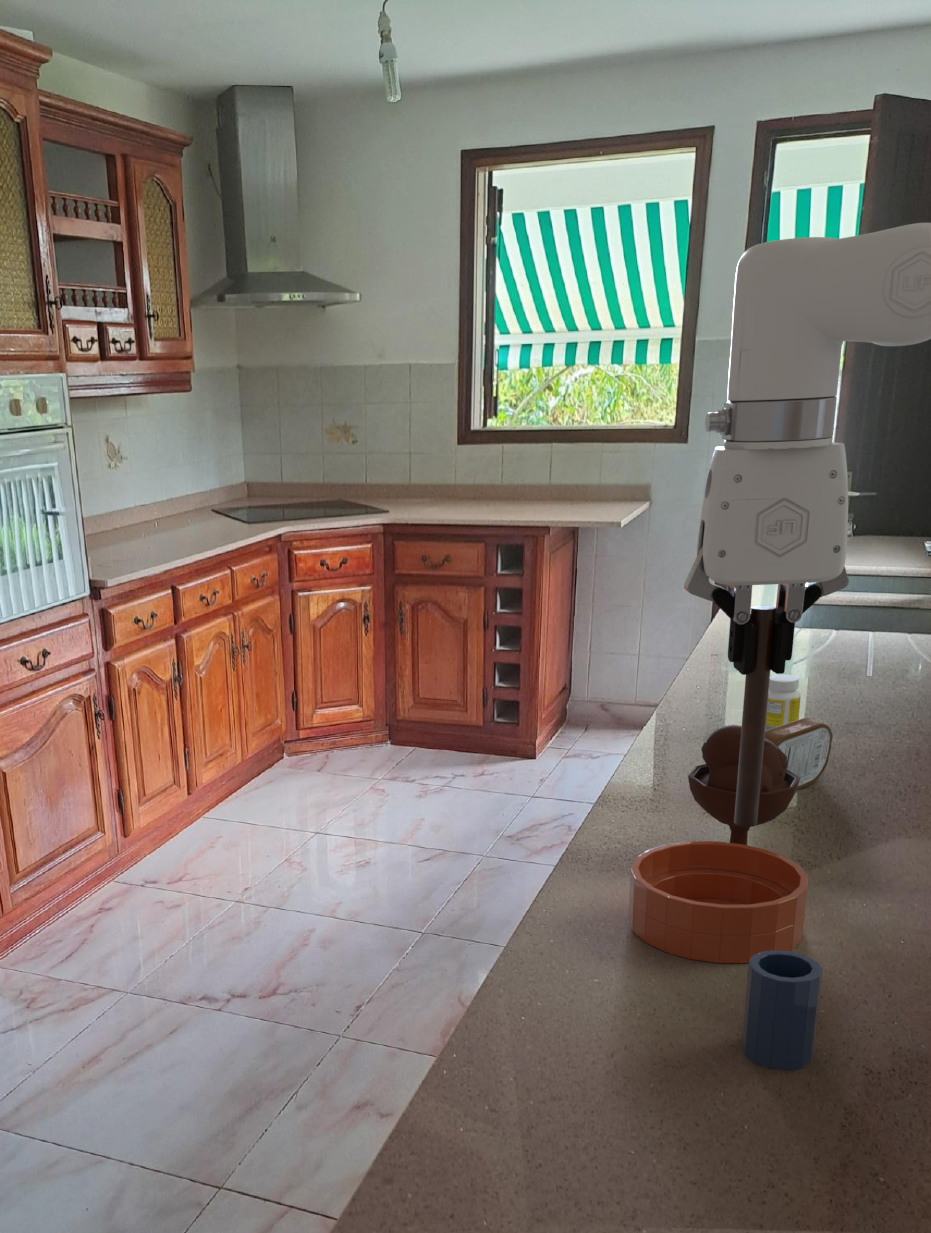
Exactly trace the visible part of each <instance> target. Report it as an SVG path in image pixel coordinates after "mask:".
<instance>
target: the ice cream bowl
mask: <svg viewBox="0 0 931 1233" xmlns="http://www.w3.org/2000/svg"><path fill="white" fill-rule="evenodd" d="M741 729H742V725H738V724H729V725H722V726H720V727H719V728H717V729H715V730H714V731H711V733H709V734H708V736H707V738H706V739H705V741H704V743H703V744H702V746H701V748H700V750H701V754H702V756H701V757H702V760H703V761H704V764H700V765H696V766H694V767H693V769H692V770H691V772H690V773H689V774H688V775H687V778H688V786H689V791H690V792H691V795H692V797H693V799H694V801H695V802H696V803H697V804H698V805H699V806H700V807H701V809H703V810H704V811H705V812H706V813H707V814H709V815H710V816H711V817H712V818H714V819H715V820H716V821H718V822H719V823H721V824H723V825H727V826H728V827H729V830H730V837H729V843H736V844H743V845H747V846H749V845H748V837H749V836H748V833H749V830H750V829H751V827H741V826H738V825H736V824H735V823H734V816H735V804H736V791H737V779H738V766H739V754H740V741H741ZM800 778H801V777H799V776H797V775H796V774H794V773H792V772H791V771H789V770H788V769H787V756H786V755H785V754H784V753H783V752H782V751H781V750H780V749H779V748H778V747H777V746H776V745H775V744H774V743H773V742H771V741H769V740H767V739H765V738H764V750H763V761H762V773H761V784H760V795H759V807H758V818H757V825H756V826H761V825H764V824H767V823H768V822H770V821H773V820H775V819H776V818H778V817H779V816H780V815H782V814H783V813H784V812H785V811H786V810H787V809H788V807H789V805H790V804H791V802H792V800H793V798H794V797H795V795H796V793H797V791H798V790H797V787H798V784H799V781H800ZM756 826H755V827H756Z"/></svg>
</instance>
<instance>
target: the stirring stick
mask: <svg viewBox="0 0 931 1233" xmlns="http://www.w3.org/2000/svg"><path fill="white" fill-rule="evenodd" d="M775 613H776V606H771V605H753V606H751V613H750V614H751V615H752V623H753V624H754V625H756V638H755V650H754V662H753V672H752V673H750V674H749V675H745V681H744V693H743V706H742V718H741V726H742V729H741V741H740V754H739V766H738V779H737V791H736V804H735V816H734V823H735V824H736V825H738V826H741V827H750V828H753V827H756V825H757V818H758V807H759V795H760V784H761V773H762V761H763V750H764V738H765V727H766V715H767V704H768V693H769V681H770V676H771V670H770V669H771V658H772V646H773V635H774V624H775ZM757 826H758V825H757Z"/></svg>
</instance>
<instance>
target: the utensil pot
mask: <svg viewBox="0 0 931 1233" xmlns="http://www.w3.org/2000/svg"><path fill="white" fill-rule="evenodd" d="M823 972H824V970H823V968H822V965H821V964H820V963H819V962H818V961H817V960H815V959H814V958H812V957H810V956H808V955H806V954H803V953H799V952H797V951H793V950H792V951H783V950H771V951H763V952H760V953H757V954H755V955H753V956H752V957H751V959H750V961H749V963H748V967H747V979H746V988H745V989H746V990H745V1000H744V1012H743V1024H742V1035H741V1036H742V1037H741V1049H742V1050H741V1051H742V1053H743V1054H744V1056H745V1057H746V1058H747V1059H748V1060H750V1062H752V1063H754V1064H756V1065H757V1066H761V1067H762V1068H763V1067H764V1068H767V1069H771V1070H775V1071H795V1070H799V1069H803V1068H806V1067H808V1066H809V1065H810V1064H811V1062H812V1060H813V1057H814V1051H815V1042H816V1034H817V1033H816V1032H817V1024H818V1017H819V1016H818V1014H819V1006H820V998H821V988H822V979H823Z"/></svg>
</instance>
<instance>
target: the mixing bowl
mask: <svg viewBox="0 0 931 1233" xmlns="http://www.w3.org/2000/svg"><path fill="white" fill-rule="evenodd" d="M747 845H748V844H747ZM747 845H743V844H736V843H730V842H726V841H715V840H714V841H713V840H707V841H705V840H704V841H703V840H701V841H700V840H699V841H683V842H675V843H668V844H664V845H663V844H662V845H660V846H657V847H654V848H650V849H648V850H646V851H644V852H643V853H641V854H640V855H638V856H637V857H635V858H634V861H633V862H632V865H631V867H630V876H629V877H630V879H629V900H628V901H629V903H628V922H629V925H630V928H631V930H632V932H633V933H635V935H636V936H638V938H640V939H641V940H642V941H643V942H645V943H646V944H648V945H650V946H652V947H654V948H656V949H658V950H660V951H663V952H665V953H668V954H670V955H674V956H677V957H682V958H685V959H687V960H694V961H701V962H707V963H715V964H749V961H750V959H751V957H752V956H753V955H755V954H757V953H760V952H763V951H771V950H783V951H792V952H793V951H794V950H795V948H797V947H798V945H800V944H801V943H802V941H803V935H804V925H805V916H806V907H807V897H808V889H809V888H808V887H809V876H808V874H807V873H806V872H805V870H804V869H803V867H802V866H801V865H799V864H798V863H796V862H795V861H793V860H791V859H789V858H788V857H786V856H784V855H781V854H778V853H776V852H773V851H770V850H768V849H764V848H762V847H761V848H760V847H756V846H751V845H748V846H747Z"/></svg>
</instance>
